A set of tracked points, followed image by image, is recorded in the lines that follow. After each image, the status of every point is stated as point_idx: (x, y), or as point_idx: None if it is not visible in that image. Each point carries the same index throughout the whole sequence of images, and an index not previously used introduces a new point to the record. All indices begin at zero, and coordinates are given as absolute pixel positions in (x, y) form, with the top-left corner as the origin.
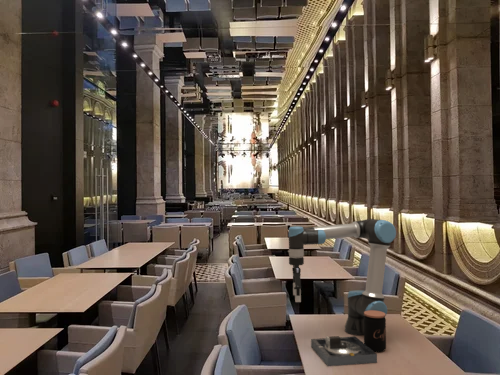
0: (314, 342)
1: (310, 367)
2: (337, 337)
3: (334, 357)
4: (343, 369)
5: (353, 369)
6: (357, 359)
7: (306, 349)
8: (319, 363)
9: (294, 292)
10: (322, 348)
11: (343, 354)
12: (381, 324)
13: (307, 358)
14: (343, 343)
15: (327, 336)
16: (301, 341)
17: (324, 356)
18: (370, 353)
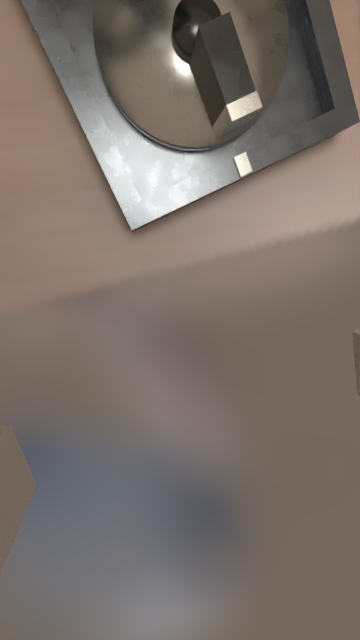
0: (177, 206)
1: (352, 209)
2: (228, 35)
3: (349, 86)
4: (355, 59)
5: (351, 7)
6: None
7: (169, 249)
8: (310, 174)
9: (16, 501)
10: (252, 156)
11: (287, 36)
12: None
13: (268, 232)
14: (203, 16)
15: (228, 108)
16: (74, 287)
17: (312, 144)
18: None
